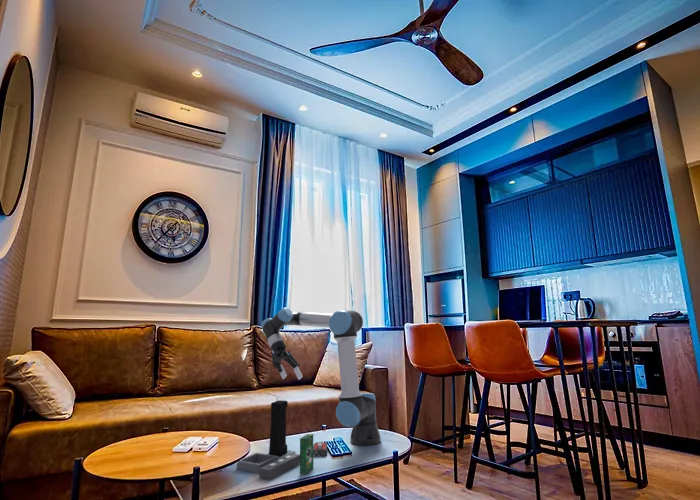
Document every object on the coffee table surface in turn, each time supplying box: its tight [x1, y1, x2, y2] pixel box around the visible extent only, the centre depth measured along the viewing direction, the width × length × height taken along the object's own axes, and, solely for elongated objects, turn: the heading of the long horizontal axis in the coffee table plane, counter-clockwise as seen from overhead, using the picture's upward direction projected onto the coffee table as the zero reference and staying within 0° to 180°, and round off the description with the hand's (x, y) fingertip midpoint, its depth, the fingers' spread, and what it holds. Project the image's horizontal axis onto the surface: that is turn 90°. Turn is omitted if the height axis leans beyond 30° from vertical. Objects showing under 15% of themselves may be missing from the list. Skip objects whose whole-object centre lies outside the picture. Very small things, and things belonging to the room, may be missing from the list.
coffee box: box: [299, 433, 314, 475], centre depth 157 cm, size 8×3×13 cm, turn 162°
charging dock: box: [236, 452, 300, 481], centre depth 160 cm, size 20×20×4 cm
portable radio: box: [268, 396, 289, 457], centre depth 178 cm, size 8×6×25 cm
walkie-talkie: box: [313, 441, 329, 457], centre depth 176 cm, size 9×4×20 cm
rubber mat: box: [267, 449, 296, 459], centre depth 175 cm, size 10×12×1 cm
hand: (292, 378), depth 199 cm, fingers open, 13 cm apart
